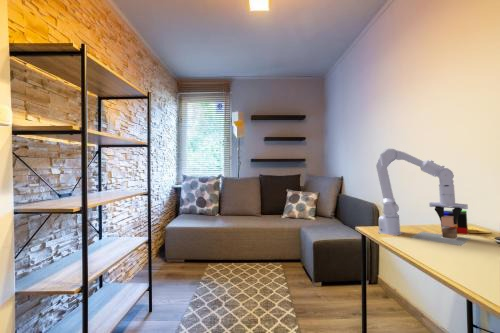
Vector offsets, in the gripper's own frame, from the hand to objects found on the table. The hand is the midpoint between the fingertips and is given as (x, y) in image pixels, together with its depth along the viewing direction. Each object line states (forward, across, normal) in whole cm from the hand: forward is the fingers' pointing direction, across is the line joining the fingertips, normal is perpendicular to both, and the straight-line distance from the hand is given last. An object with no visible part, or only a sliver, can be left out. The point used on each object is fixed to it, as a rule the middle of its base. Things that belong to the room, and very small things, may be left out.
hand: (449, 223), depth 125 cm
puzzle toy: (+7, -2, +14) cm, 16 cm away
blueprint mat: (+7, -3, -4) cm, 9 cm away
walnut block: (+7, 0, 0) cm, 7 cm away
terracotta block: (+1, 0, 0) cm, 1 cm away
